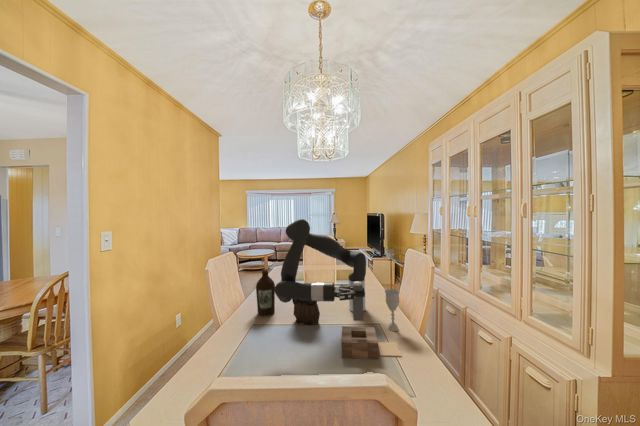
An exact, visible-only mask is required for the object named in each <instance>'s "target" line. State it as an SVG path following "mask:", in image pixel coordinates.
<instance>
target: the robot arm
mask: <svg viewBox="0 0 640 426" xmlns="http://www.w3.org/2000/svg"><path fill="white" fill-rule="evenodd" d="M310 231H311V226H310V223H309V222H308V221H307V220H306V219H303V218H299V219H297V220H294V221H293V222H292V223H290V224H289V225H287V226H286V228H285V235H286V236H287V238H288V239H289V240H291V241H292V243H291V245H290V248H289V249H288V251H287V253H286V255H285V257H284V259H283V263H282V266H281V270H280V276H281V277H280V278H281V281H279V282H277V284H276V285H275V296H276V297H277V299H278V300H279V301H280V302H282V303H289V302H292V298H298V299H300V300H303V301H317V302H335V300H336V299H335V298H339V301H347V300H348V301H349V303H348V305H349V306H348V307H349V310H350V311H351V312H353V299H354V298H355V297H363V312H365V311H366V278H365V277H366V274H367V258H366V255H365V253H363V252H359V251H354V250H349V249H347V248H345V247H343V246H342V245H341V244H340V243H339V242H338V241H337V240H335V239H334V238H332V237H330V236H327V235H323V234H314V233H311V232H310ZM305 246H307V247H309V248H311V249H313V250H316V251H318V252H320V253H321V254H324V255H326V256H328V257H331V258H334V259H337V260H339V261H341V262H342V263H343V264H344V265H346V266H347V267H350V268H353V272H351V273H349V275H348V284H342V283H341V284H339V286H335V283H334V282H311V283H309V282H308V283H307V282H306V283H305V282H304V283H300V282H297V281H296V277H297V274H298V271H299V270H298V269H299V265H300V261H301V257H302V253H303V251H304V249H305ZM356 281H359V282H361V284H362V286H363V291H356V292H355V291H353V285H352V283H353V282H356Z"/></svg>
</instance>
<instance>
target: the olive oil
mask: <svg viewBox="0 0 640 426" xmlns="http://www.w3.org/2000/svg"><path fill="white" fill-rule="evenodd" d="M261 271H262V272H261V275H262V276H261V277H260V278H259V279H258V281H257V282H256V284H255V293H256V304H257V305H256V306H257V307H256V308H257V315H258V316H260V317H268V316H272V315H274V314H275V312H276V311H275V298H276V297H275V296H276V294H275V286H276V285H275V284H276V283H275V282H274V280H273V279H272V278H271V276H269V270H268V268H263V269H262V270H261Z"/></svg>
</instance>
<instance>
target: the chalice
mask: <svg viewBox="0 0 640 426" xmlns="http://www.w3.org/2000/svg"><path fill="white" fill-rule="evenodd" d="M384 293H385V303H386V305H387V307H388V309H389V311H391V313H390V315H391V318H390V320H391V322H390V323H389V324H388V327H387V330H388V331H390V332H397V331H399V326H398V324H397V323H396V322H395V311H397V309H398V306H399V305H400V304H399V303H400V290H399V289H394V288H389V289H388V288H387V289H385V290H384Z"/></svg>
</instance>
